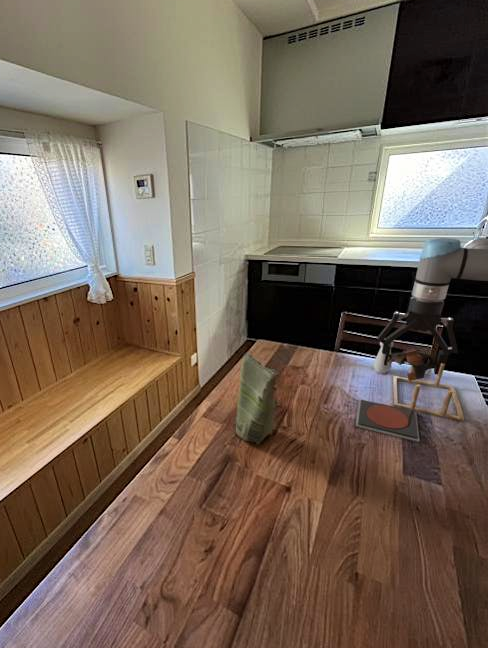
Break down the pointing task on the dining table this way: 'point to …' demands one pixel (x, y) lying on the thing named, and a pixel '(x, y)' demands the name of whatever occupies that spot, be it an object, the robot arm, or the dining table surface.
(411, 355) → the pottery mug
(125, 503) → the dining table surface
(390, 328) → the robot arm
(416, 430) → the hob
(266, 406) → the pouch
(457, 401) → the drying rack
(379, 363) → the salt shaker
